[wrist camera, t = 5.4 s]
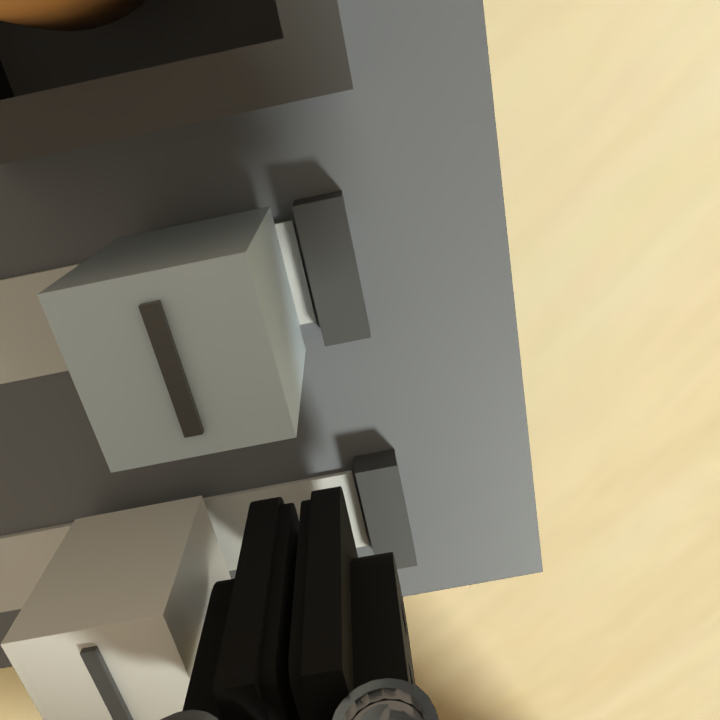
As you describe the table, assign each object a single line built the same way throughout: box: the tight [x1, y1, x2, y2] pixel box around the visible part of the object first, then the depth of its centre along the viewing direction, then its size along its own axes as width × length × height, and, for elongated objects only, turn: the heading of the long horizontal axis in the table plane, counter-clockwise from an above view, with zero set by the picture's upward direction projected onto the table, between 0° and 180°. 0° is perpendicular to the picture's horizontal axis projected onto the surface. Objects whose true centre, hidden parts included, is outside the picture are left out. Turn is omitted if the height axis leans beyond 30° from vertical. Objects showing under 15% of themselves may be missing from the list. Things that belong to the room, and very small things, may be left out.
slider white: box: [0, 495, 231, 720], centre depth 11 cm, size 2×2×3 cm
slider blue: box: [37, 206, 306, 473], centre depth 9 cm, size 2×2×3 cm
